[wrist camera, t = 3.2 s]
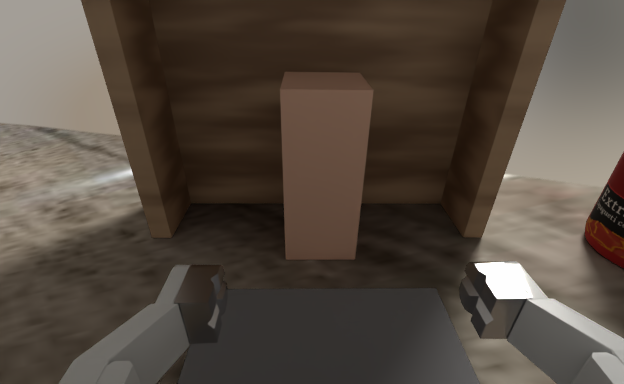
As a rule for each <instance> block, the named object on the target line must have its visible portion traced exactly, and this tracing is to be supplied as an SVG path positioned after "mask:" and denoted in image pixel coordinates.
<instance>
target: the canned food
mask: <svg viewBox="0 0 624 384" xmlns="http://www.w3.org/2000/svg"><path fill="white" fill-rule="evenodd" d="M585 237H586V239H587V241H588V242H589V244H590V245H591V246H592V247H593V248H594V249H595V250H596V251H597V252H598V253H599V254H601V255H602V256H603V257H605V258H606V259H608V260H609V261H611V262H613V263H614V264H616V265H618V266H620V267H622V268H624V152H623V154H622V156H621V158H620V160H619V161H618V164H617V165H616V167H615V169H614V171H613V173H612V175H611V176H610V178H609V180H608V182H607V184H606V186H605V188H604V189H603V191H602V193H601V195H600V197H599V199H598V201H597V202H596V204H595V206H594V208H593V210H592V212H591V214H590V215H589V217H588V219H587V221H586V226H585Z"/></svg>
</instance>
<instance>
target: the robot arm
mask: <svg viewBox="0 0 624 384" xmlns="http://www.w3.org/2000/svg"><path fill="white" fill-rule="evenodd" d="M465 273H466V274H467V277H465V278H464V279H463V280H462V281H461V283H460V287H459V294H460V299H461V303H462V305H463V307H464V309H465V310H467V311H468V312H469V313H471V314H472V318H471V322H472V324H473V326H474V328H475V329H476V331H477V333H478V335H479V337H480V339H507V341H508V342H510V343H511V344H512V345H513V346H514V347H515V348H517V349H518V350H519V351H520V352H521V353H522V354H523V355H525V356H526V357H527V358H528V359H529V360H530V361H532V362H533V363H534V364H535V365H536V366H537V367H539V368H540V369H541V370H542V371H543V372H544V373H545V374H547V375H548V376H549V377H550V378H551V379H552V380H554V381H555V382H556V383H557V384H624V338H622V337H620V336H618V335H617V334H615V333H613V332H611V331H610V330H608V329H606V328H604V327H603V326H601V325H599V324H597V323H595V322H594V321H592V320H590V319H588V318H587V317H585V316H583V315H581V314H580V313H578V312H576V311H574V310H573V309H571V308H569V307H567V306H566V305H564V304H562V303H560V302H558V301H557V300H555V299H549V298H548V297H547V296H546V295H545V294H544V293H543V291H542V290H541V289H540V288H539V287H538V285H537V284H536V283H535V282H534V281H533V279H532V278H531V277H530V276H529V275H528V273H527V272H526V271H525V270H524V269H523V267H522V266H521V265H520V264H519V263H517V262H516V261H500V262H469V263H468V264H467V265H466V268H465ZM224 275H225V272H224V267H223V266H222V265H175V266H174V267H173V268H172V270H171V272H170V274H169V276H168V278H167V280H166V282H165V284H164V286H163V288H162V290H161V292H160V294H159V296H158V298H157V300H156V302H155V304H149V305H148V306H147V307H145V308H144V309H142V310H141V311H140V312H138V313H137V314H136V315H134V316H133V317H132V318H130V319H129V320H128V321H126V322H125V323H123V324H122V325H121V326H119V327H118V328H117V329H115V330H114V331H113V332H111V333H110V334H109V335H107V336H106V337H104V338H103V339H102V340H100V341H99V342H98V343H96V344H95V345H94V346H92V347H91V348H89V349H88V350H87V351H85V352H84V353H83V354H81V355H80V356H79V357H77V358H76V359H75V360H74V361H73V362H72V364H71V365H70V367H69V368H68V370H67V371H66V373H65V374H64V376H63V377H62V379H61V381H60V382H59V384H156V383H157V382H158V381H159V380H160V379H161V377H162V376H163V375H164V374H165V373H166V372H167V371H168V370H169V368H170V367H171V366H172V365H173V364H174V363H175V362H176V361H177V360H178V358H179V357H180V356H181V355H182V354H183V353H184V352H185V351H186V349H187V348H188V347H189V346H190V344H202V343H217V342H218V338H219V334H220V330H221V327H222V321H221V316H222V315H223V314H224V313H225V311H226V307H227V299H228V289H227V284H226V283H225V282H224V281H223V279H224Z"/></svg>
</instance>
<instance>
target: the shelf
mask: <svg viewBox="0 0 624 384" xmlns="http://www.w3.org/2000/svg"><path fill="white" fill-rule="evenodd" d="M81 2H82V5H83V8H84V12H85V15H86V18H87V22H88V25H89V28H90V32H91V35H92V39H93V42H94V45H95V48H96V52H97V55H98V58H99V62H100V65H101V68H102V72H103V75H104V79H105V82H106V85H107V89H108V92H109V95H110V99H111V102H112V105H113V108H114V112H115V115H116V119H117V122H118V125H119V129H120V132H121V136H122V139H123V142H124V146H125V149H126V152H127V156H128V159H129V162H130V166H131V169H132V172H133V176H134V179H135V182H136V186H137V189H138V192H139V196H140V199H141V202H142V206H143V209H144V213H145V216H146V219H147V223H148V226H149V229H150V233H151V236H152V238H172V236H173V234H174V233H175V231H176V229H177V227H178V225H179V224H180V222H181V220H182V218H183V217H184V215H185V213H186V211H187V209H188V208H189V206H190V204H191V203H284V192H283V162H282V132H281V103H280V88H281V84H282V80H283V77H284V73H285V72H346V73H360V74H361V75H362V76H363V77H364V79H365V80H366V81H367V83H368V84H369V85H370V86H371V88H372V89H373V90H374V91H373V100H372V109H371V118H370V128H369V137H368V146H367V155H366V164H365V173H364V182H363V191H362V200H361V204H441V205H442V207H443V208H444V210H445V211H446V213H447V214H448V216H449V217H450V219H451V220H452V221H453V223H454V224H455V226H456V227H457V229H458V230H459V232H460V233H461V235H462V236H463V237H482V235H483V233H484V230H485V227H486V224H487V221H488V219H489V216H490V213H491V210H492V207H493V204H494V202H495V199H496V196H497V193H498V190H499V188H500V185H501V182H502V179H503V176H504V174H505V171H506V168H507V165H508V162H509V160H510V156H511V154H512V151H513V148H514V145H515V142H516V140H517V137H518V134H519V131H520V129H521V126H522V123H523V120H524V117H525V115H526V112H527V109H528V106H529V103H530V101H531V98H532V95H533V92H534V89H535V86H536V84H537V81H538V78H539V75H540V72H541V70H542V67H543V64H544V61H545V58H546V56H547V53H548V50H549V47H550V44H551V42H552V39H553V36H554V33H555V30H556V27H557V25H558V22H559V19H560V16H561V13H562V10H563V8H564V5H565V2H566V0H81Z"/></svg>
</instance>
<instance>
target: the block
mask: <svg viewBox="0 0 624 384" xmlns="http://www.w3.org/2000/svg"><path fill="white" fill-rule="evenodd" d="M373 91H374V90H373V89H372V88H371V86H370V85H369V84H368V83H367V81H366V80H365V79H364V77H363V76H362V75H361V74H360V73H346V72H285V73H284V77H283V80H282V84H281V88H280V103H281V132H282V162H283V192H284V222H285V252H286V260H355V255H356V246H357V237H358V228H359V218H360V209H361V200H362V191H363V182H364V173H365V164H366V155H367V146H368V137H369V128H370V118H371V109H372V100H373Z"/></svg>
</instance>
